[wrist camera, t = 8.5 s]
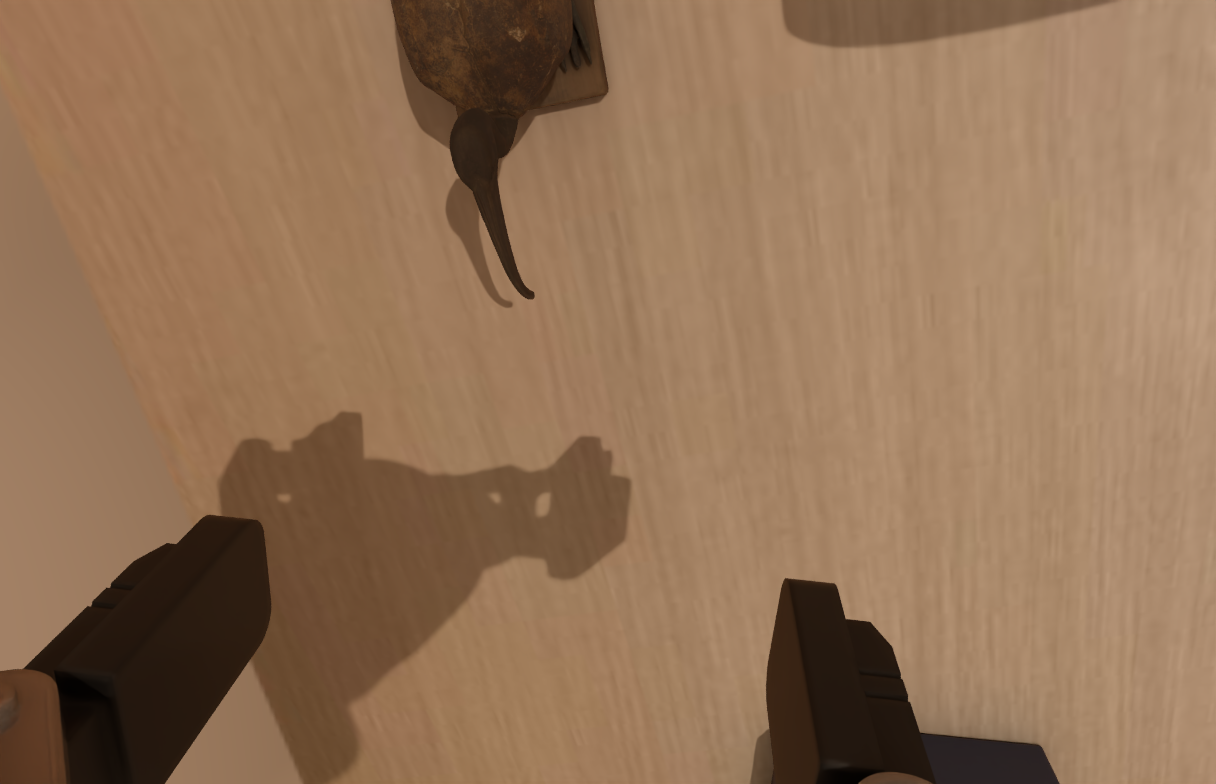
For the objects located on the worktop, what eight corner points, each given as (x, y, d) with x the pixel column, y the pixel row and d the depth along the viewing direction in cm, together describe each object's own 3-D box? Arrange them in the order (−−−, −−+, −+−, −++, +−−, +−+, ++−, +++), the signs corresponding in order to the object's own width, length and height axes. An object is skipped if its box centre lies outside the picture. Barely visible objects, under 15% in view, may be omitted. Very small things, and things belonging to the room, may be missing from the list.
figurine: (634, 233, 27) (612, 320, 19) (495, 255, 28) (419, 348, 20) (542, -309, 22) (460, -495, 14) (375, -266, 23) (206, -421, 15)
